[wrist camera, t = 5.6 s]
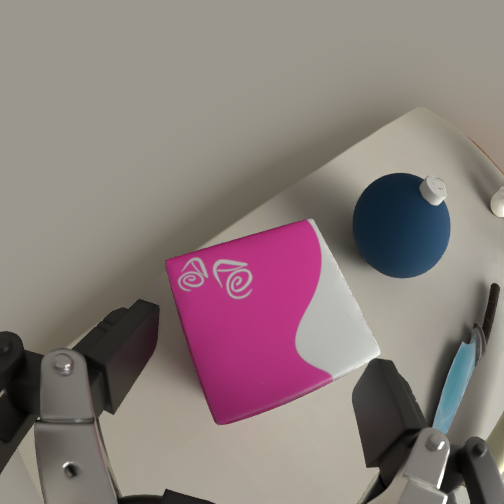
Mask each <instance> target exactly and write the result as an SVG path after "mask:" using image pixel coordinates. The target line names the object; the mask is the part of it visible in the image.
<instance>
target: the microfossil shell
mask: <svg viewBox="0 0 504 504" xmlns="http://www.w3.org/2000/svg"><path fill="white" fill-rule="evenodd" d="M491 209H492V211H493V213H494V214H495V215H496V216H498V217H504V186H503V187H501V188H500V189H499V190H498V191H497V192H496V193H495V194H494V195H493V197H492V199H491Z"/></svg>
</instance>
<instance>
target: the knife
mask: <svg viewBox="0 0 504 504" xmlns="http://www.w3.org/2000/svg"><path fill="white" fill-rule="evenodd" d="M499 292H500V287H499V285H498V284H496V283H493V284H492V285H491V289H490V295H489V300H488V305H487V310H486V314H485V318H484V323H483V327H482V328H481V326H480V325H479V324H478V323H477V322H475V323H474V325H473V331H472V334H471V339H470V344H466V343H464V342H462V344H461V346H460V348H459V350H458V352H457V354H456V356H455V358H454V360H453V363H452V365H451V368H450V370H449V373H448V376H447V379H446V382H445V385H444V388H443V391H442V394H441V398H440V401H439V405H438V408H437V411H436V414H435V418H434V422H433V426H432V428H436V429H438V430H440V431H441V432H443V433H444V434H445V435H446V433H447V431H448V429H449V427H450V425H451V422H452V420H453V418H454V416H455V414H456V411H457V409H458V406H459V404H460V402H461V399H462V397H463V395H464V392H465V390H466V387H467V385H468V382H469V380H470V377H471V375H472V372H473V369H474V367H475V366H476V365H477V364H478V362H479V361H480V358H481V356H483V355H484V354H485V352H486V346H487V342H488V339H489V335H490V332H491V328H492V324H493V320H494V316H495V312H496V307H497V302H498V297H499Z"/></svg>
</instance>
